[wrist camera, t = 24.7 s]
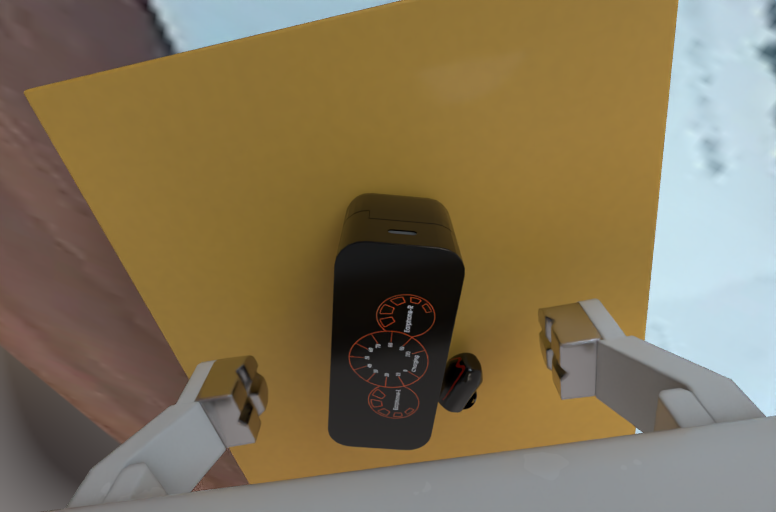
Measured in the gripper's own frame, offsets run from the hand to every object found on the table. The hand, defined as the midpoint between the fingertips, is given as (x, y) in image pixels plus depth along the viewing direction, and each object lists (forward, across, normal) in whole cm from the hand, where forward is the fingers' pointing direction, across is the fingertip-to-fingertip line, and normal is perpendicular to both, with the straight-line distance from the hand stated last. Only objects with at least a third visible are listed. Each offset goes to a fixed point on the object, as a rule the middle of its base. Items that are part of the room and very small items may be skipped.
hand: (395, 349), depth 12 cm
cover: (+2, 0, 0) cm, 2 cm away
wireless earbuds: (+2, 0, 0) cm, 2 cm away
